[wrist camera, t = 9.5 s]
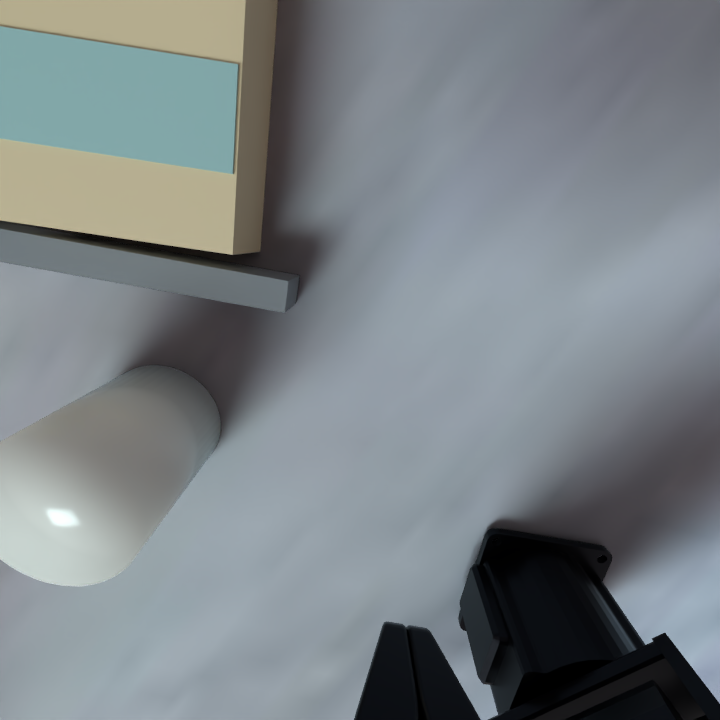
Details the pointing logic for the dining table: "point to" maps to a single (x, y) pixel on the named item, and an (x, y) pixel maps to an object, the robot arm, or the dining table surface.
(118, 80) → the carton
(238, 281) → the frame
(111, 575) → the cylindrical block
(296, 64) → the dining table surface
